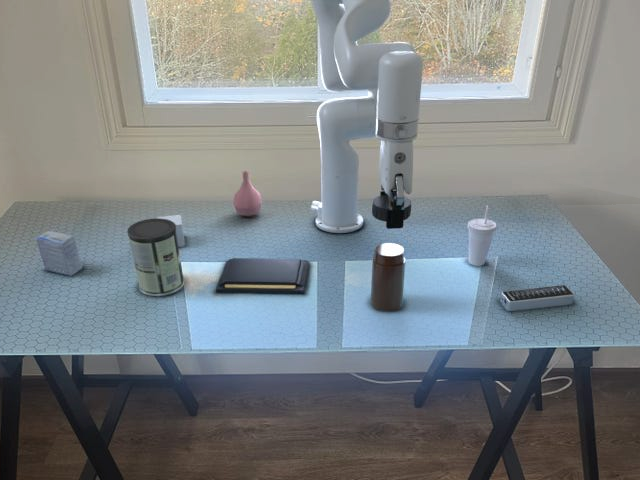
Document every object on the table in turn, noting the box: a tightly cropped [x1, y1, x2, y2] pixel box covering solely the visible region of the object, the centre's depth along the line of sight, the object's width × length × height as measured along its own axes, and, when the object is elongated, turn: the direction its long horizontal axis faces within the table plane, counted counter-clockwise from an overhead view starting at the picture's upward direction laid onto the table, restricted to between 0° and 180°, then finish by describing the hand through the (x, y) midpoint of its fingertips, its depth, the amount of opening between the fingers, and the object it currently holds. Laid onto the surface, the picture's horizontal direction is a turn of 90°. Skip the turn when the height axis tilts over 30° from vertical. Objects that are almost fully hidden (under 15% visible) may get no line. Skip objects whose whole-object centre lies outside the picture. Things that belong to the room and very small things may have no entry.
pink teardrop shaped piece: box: [233, 170, 263, 218], centre depth 174 cm, size 8×8×12 cm
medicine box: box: [35, 230, 83, 277], centre depth 151 cm, size 8×4×9 cm, turn 65°
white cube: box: [156, 214, 186, 248], centre depth 163 cm, size 6×6×6 cm
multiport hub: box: [499, 284, 575, 312], centre depth 136 cm, size 4×14×2 cm, turn 100°
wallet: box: [215, 257, 310, 295], centre depth 148 cm, size 20×2×15 cm
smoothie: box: [467, 205, 498, 267], centre depth 148 cm, size 6×6×14 cm
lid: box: [371, 194, 412, 223], centre depth 126 cm, size 7×7×3 cm
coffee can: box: [126, 217, 185, 297], centre depth 142 cm, size 10×10×14 cm
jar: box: [370, 242, 407, 313], centre depth 134 cm, size 7×7×13 cm
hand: (390, 218), depth 127 cm, fingers closed on lid, 7 cm apart
